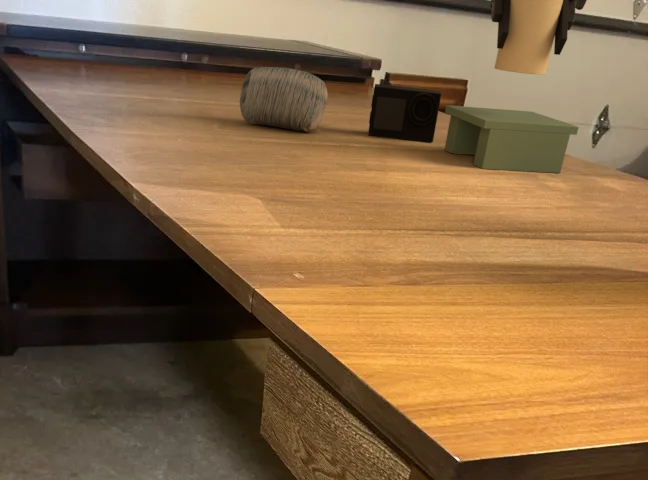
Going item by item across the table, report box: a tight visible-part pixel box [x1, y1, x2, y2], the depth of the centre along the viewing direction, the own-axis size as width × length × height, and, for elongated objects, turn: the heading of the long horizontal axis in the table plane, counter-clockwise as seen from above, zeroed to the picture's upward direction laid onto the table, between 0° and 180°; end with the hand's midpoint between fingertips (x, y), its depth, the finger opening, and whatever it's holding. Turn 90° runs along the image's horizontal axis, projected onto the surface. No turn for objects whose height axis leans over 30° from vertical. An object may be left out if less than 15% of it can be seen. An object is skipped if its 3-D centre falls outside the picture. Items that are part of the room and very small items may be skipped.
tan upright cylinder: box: [494, 0, 563, 76], centre depth 110 cm, size 7×7×11 cm
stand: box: [444, 104, 580, 174], centre depth 118 cm, size 14×14×6 cm
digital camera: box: [367, 83, 442, 143], centre depth 128 cm, size 10×5×7 cm, turn 83°
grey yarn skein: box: [239, 66, 329, 133], centre depth 125 cm, size 14×10×10 cm
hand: (531, 43), depth 108 cm, fingers closed on tan upright cylinder, 7 cm apart
